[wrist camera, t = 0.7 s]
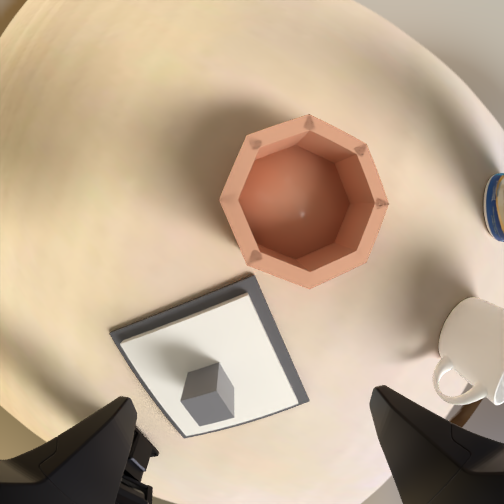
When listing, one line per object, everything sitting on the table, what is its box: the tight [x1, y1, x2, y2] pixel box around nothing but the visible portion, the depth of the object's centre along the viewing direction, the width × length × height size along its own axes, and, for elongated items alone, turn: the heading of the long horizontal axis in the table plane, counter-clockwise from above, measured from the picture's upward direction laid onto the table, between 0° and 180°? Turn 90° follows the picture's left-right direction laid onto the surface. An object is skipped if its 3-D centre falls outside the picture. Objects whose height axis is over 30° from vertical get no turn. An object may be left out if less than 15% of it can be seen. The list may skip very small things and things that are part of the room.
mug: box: [433, 297, 504, 405], centre depth 19 cm, size 9×12×11 cm
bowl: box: [219, 114, 389, 289], centre depth 18 cm, size 10×10×5 cm
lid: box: [120, 292, 299, 436], centre depth 20 cm, size 12×12×5 cm
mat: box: [110, 275, 309, 438], centre depth 22 cm, size 14×14×1 cm
